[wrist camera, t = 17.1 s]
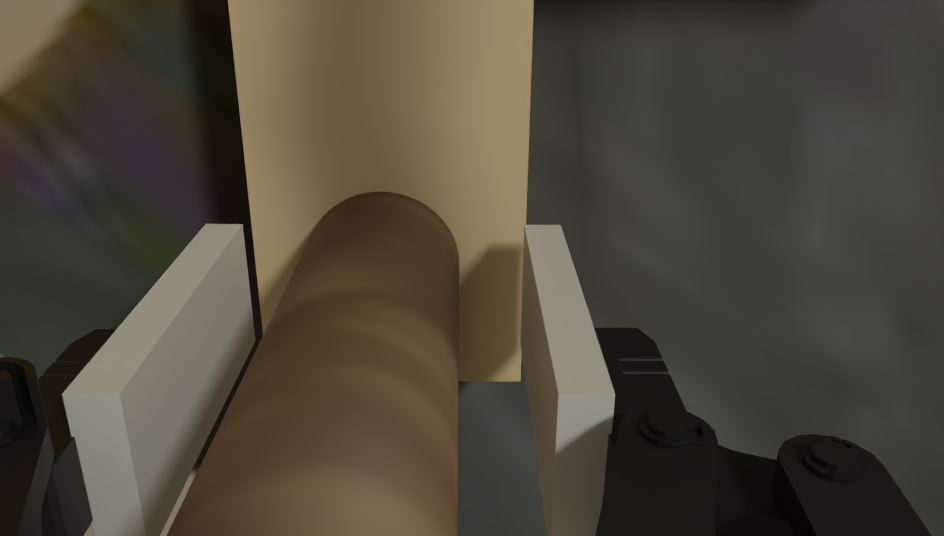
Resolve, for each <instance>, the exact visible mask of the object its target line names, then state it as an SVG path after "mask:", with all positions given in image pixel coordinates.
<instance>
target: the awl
mask: <svg viewBox="0 0 944 536" xmlns="http://www.w3.org/2000/svg"><path fill="white" fill-rule="evenodd" d="M458 368H459V254H458V249H457V245H456V242H455V240H454V237H453V235H452V233H451V231H450V230H449V228H448V226H447V225H446V224H445V222H444V221H443V220H442V219H441V218H440V217H439V216H438V214H437V213H435V212H434V211H433V210H432V209H431V208H429V207H428V206H426V205H425V204H423V203H422V202H420V201H418V200H416V199H413V198H411V197H409V196H405V195H402V194H398V193H393V192H381V191H379V192H368V193H363V194H358V195H355V196H352V197H350V198H348V199H346V200H343V201H341V202H340V203H338V204H337V205H335V206H334V207H332V208H331V209H330V210H329V211H328V212H327V213H326V214H325V215H324V216H323V217H322V218H321V220H320V221H319V222H318V224H317V226H316V227H315V229H314V231H313V233H312V235H311V237H310V239H309V241H308V243H307V245H306V247H305V249H304V252H303V254H302V256H301V258H300V260H299V262H298V264H297V266H296V268H295V270H294V272H293V274H292V276H291V279H290V281H289V283H288V285H287V287H286V289H285V291H284V293H283V295H282V297H281V299H280V301H279V303H278V306H277V308H276V310H275V312H274V314H273V316H272V318H271V320H270V322H269V324H268V326H267V328H266V330H265V333H264V335H263V337H262V339H261V341H260V343H259V345H258V347H257V349H256V351H255V353H254V355H253V357H252V360H251V362H250V364H249V366H248V368H247V370H246V372H245V374H244V376H243V378H242V380H241V382H240V384H239V387H238V389H237V391H236V393H235V395H234V397H233V399H232V401H231V403H230V405H229V407H228V409H227V412H226V414H225V416H224V418H223V420H222V422H221V424H220V426H219V428H218V430H217V432H216V434H215V436H214V439H213V441H212V443H211V445H210V447H209V449H208V451H207V453H206V455H205V457H204V459H203V461H202V463H201V466H200V468H199V470H198V472H197V474H196V476H195V478H194V480H193V482H192V484H191V486H190V488H189V490H188V493H187V495H186V497H185V499H184V501H183V503H182V505H181V507H180V509H179V511H178V514H177V516H176V517H175V520H174V522H173V524H172V526H171V528H170V530H169V532H168V534H167V536H457V477H458Z"/></svg>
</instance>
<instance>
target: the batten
mask: <svg viewBox="0 0 944 536" xmlns="http://www.w3.org/2000/svg"><path fill="white" fill-rule="evenodd" d="M228 7H229V17H230V26H231V36H232V45H233V55H234V64H235V74H236V83H237V93H238V102H239V111H240V121H241V130H242V140H243V149H244V159H245V168H246V178H247V187H248V197H249V206H250V216H251V225H252V234H253V244H254V253H255V263H256V272H257V282H258V291H259V301H260V310H261V320H262V329H263V335H264V333H265V330H266V328H267V326H268V324H269V322H270V320H271V318H272V316H273V314H274V312H275V310H276V308H277V306H278V303H279V301H280V299H281V297H282V295H283V293H284V291H285V289H286V287H287V285H288V283H289V281H290V279H291V276H292V274H293V272H294V270H295V268H296V266H297V264H298V262H299V260H300V258H301V256H302V254H303V252H304V249H305V247H306V245H307V243H308V241H309V239H310V237H311V235H312V233H313V231H314V229H315V227H316V226H317V224H318V222H319V221H320V220H321V218H322V217H323V216H324V215H325V214H326V213H327V212H328V211H329V210H330V209H331V208H332V207H334V206H335V205H337V204H338V203H340V202H341V201H343V200H346V199H348V198H350V197H352V196H355V195H358V194H363V193H368V192H379V191H381V192H393V193H398V194H402V195H405V196H409V197H411V198H413V199H416V200H418V201H420V202H422V203H423V204H425V205H426V206H428V207H429V208H431V209H432V210H433V211H434V212H435V213H437V214H438V216H439V217H440V218H441V219H442V220H443V221H444V222H445V224H446V225H447V226H448V228H449V230H450V231H451V233H452V235H453V237H454V240H455V242H456V245H457V249H458V254H459V368H458V381H520V378H521V343H520V334H521V305H522V275H523V246H524V225H526V207H527V179H528V150H529V122H530V93H531V65H532V36H533V8H534V0H228Z"/></svg>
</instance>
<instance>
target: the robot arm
mask: <svg viewBox="0 0 944 536" xmlns="http://www.w3.org/2000/svg"><path fill="white" fill-rule="evenodd" d="M254 343H255V332H254V323H253V314H252V304H251V295H250V286H249V277H248V268H247V259H246V250H245V241H244V232H243V224H205V226H204V227H203V228H202V229H201V230H200V231H199V233H198V234H197V235H196V236H195V237H194V239H193V240H192V241H191V242H190V243H189V244H188V246H187V247H186V248H185V249H184V250H183V252H182V253H181V254H180V255H179V256H178V257H177V259H176V260H175V261H174V262H173V263H172V265H171V266H170V267H169V268H168V269H167V270H166V272H165V273H164V274H163V275H162V276H161V278H160V279H159V280H158V281H157V282H156V283H155V285H154V286H153V287H152V288H151V289H150V291H149V292H148V293H147V294H146V295H145V296H144V298H143V299H142V300H141V301H140V302H139V304H138V305H137V306H136V307H135V308H134V309H133V311H132V312H131V313H130V314H129V315H128V317H127V318H126V319H125V320H124V321H123V322H122V324H121V325H120V326H119V327H118V328H117V329H96V330H94V331H92V332H90V333H89V334H87V335H85V336H83V337H82V338H80V339H78V340H76V341H75V342H73V343H71V344H70V345H69V346H68V347H67V349H66V350H65V351H64V352H63V353H62V354H61V355H60V356H59V357H58V358H57V359H56V363H53V364H52V365H51V366H50V367H49V368H48V369H47V370H46V371H45V372H44V376H41V377H40V378H39V379H38V378H37V373H36V369H35V366H34V365H33V364H32V363H30V362H29V361H27V360H25V359H19V358H13V357H1V358H0V536H84V534H85V532H86V531H87V529H88V527H89V526H90V524H91V527H92V532H93V536H160V534H161V532H162V529H163V527H164V525H165V523H166V521H167V519H168V517H169V515H170V513H171V511H172V509H173V507H174V505H175V503H176V501H177V499H178V497H179V495H180V493H181V491H182V489H183V487H184V485H185V483H186V481H187V479H188V477H189V475H190V473H191V471H192V469H193V467H194V465H195V463H196V461H197V458H198V456H199V454H200V452H201V450H202V448H203V446H204V444H205V442H206V440H207V438H208V436H209V434H210V432H211V430H212V428H213V426H214V424H215V422H216V420H217V418H218V416H219V414H220V412H221V410H222V408H223V406H224V404H225V402H226V400H227V398H228V396H229V394H230V392H231V389H232V387H233V385H234V383H235V381H236V379H237V377H238V375H239V373H240V371H241V369H242V367H243V365H244V363H245V361H246V359H247V357H248V355H249V353H250V351H251V349H252V347H253V345H254ZM520 343H521V350H522V357H523V365H524V372H525V379H526V387H527V394H528V401H529V408H530V416H531V423H532V430H533V437H534V445H535V452H536V459H537V466H538V474H539V481H540V488H541V496H542V503H543V510H544V517H545V525H546V532H547V536H931V534H930V533H929V531H928V530H927V528H926V527H925V525H924V524H923V522H922V521H921V519H920V518H919V517H918V515H917V514H916V512H915V511H914V509H913V508H912V506H911V505H910V503H909V502H908V500H907V499H906V497H905V496H904V495H903V493H902V492H901V490H900V489H899V487H898V486H897V484H896V483H895V481H894V480H893V478H892V477H891V475H890V474H889V473H888V471H887V470H886V468H885V467H884V465H883V464H882V463H881V462H880V461H879V460H878V459H877V458H876V457H875V456H874V455H873V454H872V453H870V452H868V451H866V450H865V449H863V448H861V447H859V446H858V445H856V444H854V443H852V442H849V441H847V440H844V439H843V440H842V439H841V438H837V437H833V436H824V435H816V434H812V435H800V436H796V437H793V438H791V439H789V440H787V441H784V443H783V444H782V446H781V448H780V449H779V451H778V456H777V460H774V459H769V458H764V457H759V456H754V455H749V454H745V453H741V452H737V451H733V450H730V449H728V448H725V447H723V446H720V445H718V441H717V438H716V434H715V431H714V430H713V429H712V428H711V427H710V426H709V425H708V424H707V423H706V422H705V421H704V420H703V419H701V418H699V417H697V416H695V415H693V414H691V413H689V412H687V411H686V409H685V407H684V405H683V402H682V400H681V398H680V396H679V394H678V392H677V389H676V387H675V385H674V383H673V381H672V378H671V376H670V374H668V370H667V367H666V365H665V363H664V361H662V357H661V354H660V352H659V350H658V348H657V346H656V343H655V342H654V341H653V340H652V339H650V338H649V337H648V336H647V335H645V334H644V333H643V332H641V331H640V330H639V329H638V328H594V327H593V324H592V321H591V317H590V314H589V311H588V308H587V305H586V302H585V299H584V296H583V293H582V290H581V286H580V283H579V280H578V277H577V274H576V271H575V268H574V265H573V262H572V259H571V255H570V252H569V249H568V246H567V243H566V240H565V237H564V234H563V231H562V228H561V225H524V246H523V275H522V305H521V334H520Z"/></svg>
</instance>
